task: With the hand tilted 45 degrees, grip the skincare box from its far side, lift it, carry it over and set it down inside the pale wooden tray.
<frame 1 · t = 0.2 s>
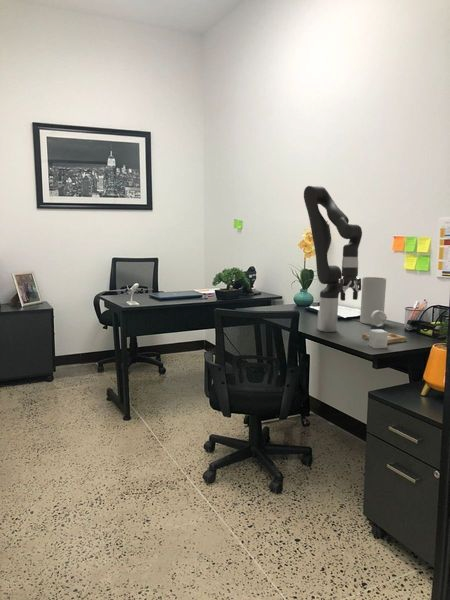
hand: (348, 300, 232), 18 cm above the table, tool pointing down, fingers open, 8 cm apart
tray: (383, 339, 228), on the table
skincare box: (377, 347, 215), on the table
cylinder vase: (371, 323, 268), on the table
watch: (377, 332, 246), on the table
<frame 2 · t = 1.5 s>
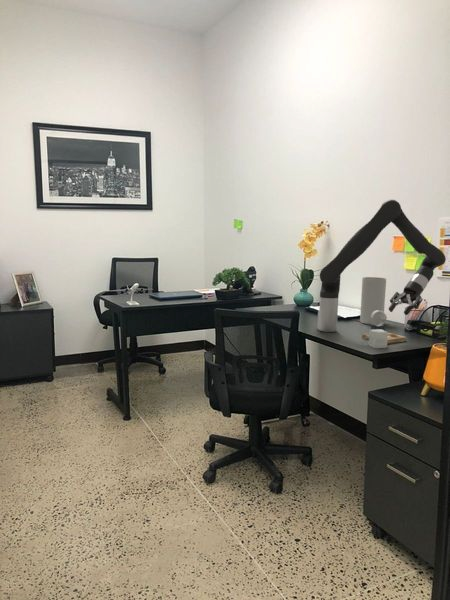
hand: (397, 312, 218), 15 cm above the table, tool tilted 45°, fingers open, 8 cm apart
nothing on the table moved.
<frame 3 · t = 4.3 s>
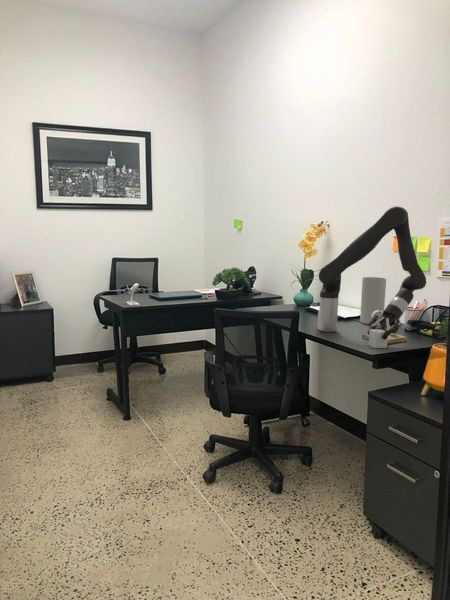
hand: (376, 336, 213), 5 cm above the table, tool tilted 45°, fingers closed on skincare box, 7 cm apart
skincare box: (377, 347, 215), on the table, touching gripper
everything else where it was.
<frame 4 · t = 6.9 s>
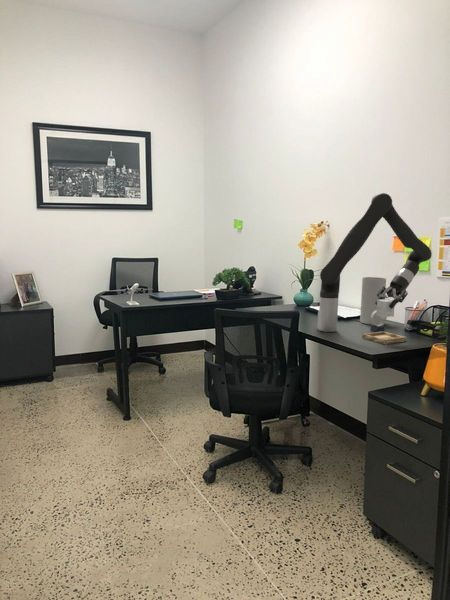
hand: (383, 306, 224), 16 cm above the table, tool tilted 45°, fingers closed on skincare box, 7 cm apart
skincare box: (384, 316, 225), point 12 cm above the table, touching gripper
everything else where it was.
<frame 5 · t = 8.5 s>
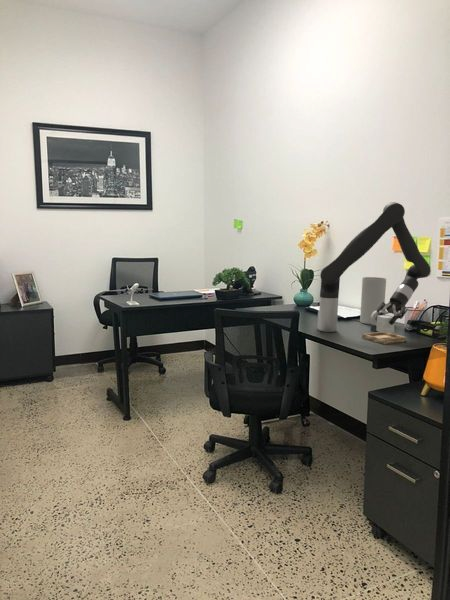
hand: (383, 322, 226), 9 cm above the table, tool tilted 45°, fingers closed on skincare box, 7 cm apart
skincare box: (384, 332, 228), point 4 cm above the table, touching gripper
everything else where it was.
when the fingers open (6 cm above the table, at t = 9.7 s): skincare box stays where it is, resting on tray.
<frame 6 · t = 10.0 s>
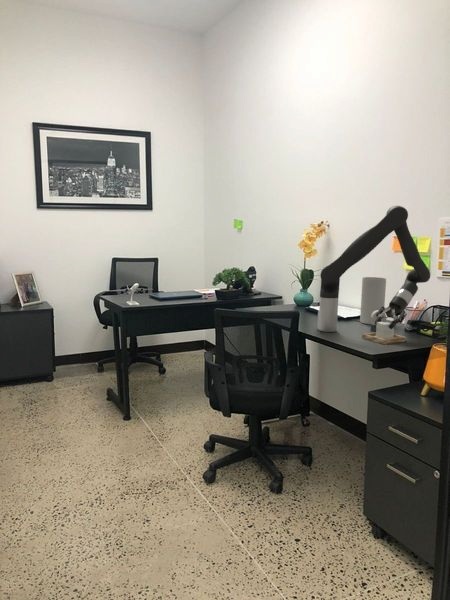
hand: (382, 326, 226), 7 cm above the table, tool tilted 45°, fingers open, 8 cm apart
skincare box: (384, 338, 228), point 1 cm above the table, touching tray
everything else where it was.
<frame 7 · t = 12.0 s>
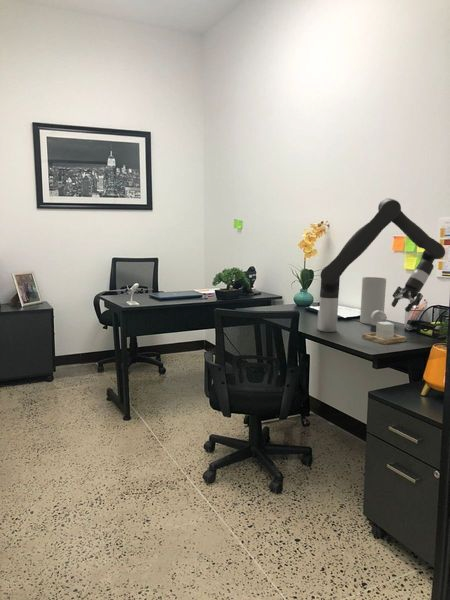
hand: (399, 308, 233), 14 cm above the table, tool tilted 35°, fingers open, 8 cm apart
nothing on the table moved.
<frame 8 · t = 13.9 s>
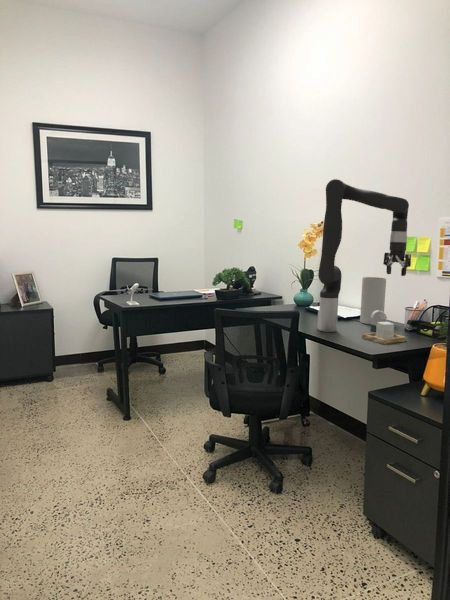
hand: (395, 274, 232), 30 cm above the table, tool pointing down, fingers open, 8 cm apart
nothing on the table moved.
at the end: skincare box inside the target area on the tray (0.2 cm from its centre), point 0.6 cm above the tray's base; skincare box tilted 0°; the gripper is holding nothing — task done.
